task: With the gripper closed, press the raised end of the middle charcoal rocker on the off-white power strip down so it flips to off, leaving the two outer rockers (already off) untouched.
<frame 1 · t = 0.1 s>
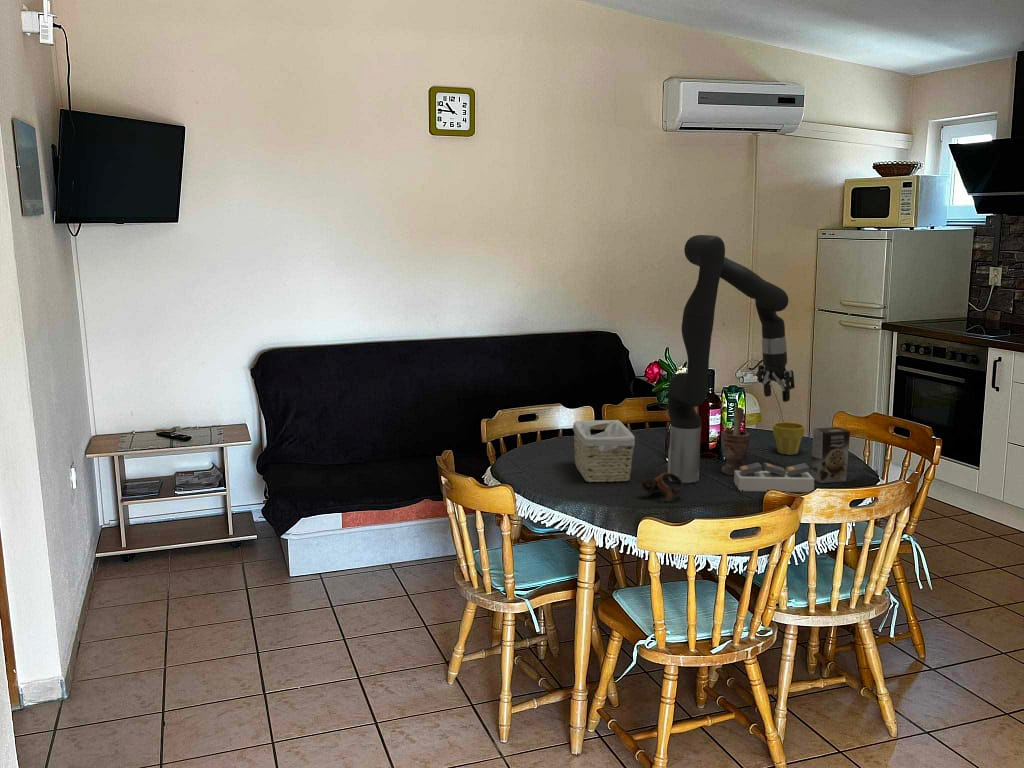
hand: (776, 398, 297), 22 cm above the table, tool pointing down, fingers open, 8 cm apart
rocker 1: (750, 468, 277), point 6 cm above the table, hinge at -15.0°
brown looped piece: (660, 498, 269), on the table
mortar and pestle: (732, 471, 295), on the table
storage basket: (602, 473, 293), on the table
rocker 2: (774, 468, 277), point 6 cm above the table, hinge at 15.0°
brown cookie box: (828, 480, 286), on the table
rocker 3: (797, 469, 276), point 6 cm above the table, hinge at -15.0°
power strip: (773, 487, 278), on the table
plant pot: (787, 453, 316), on the table
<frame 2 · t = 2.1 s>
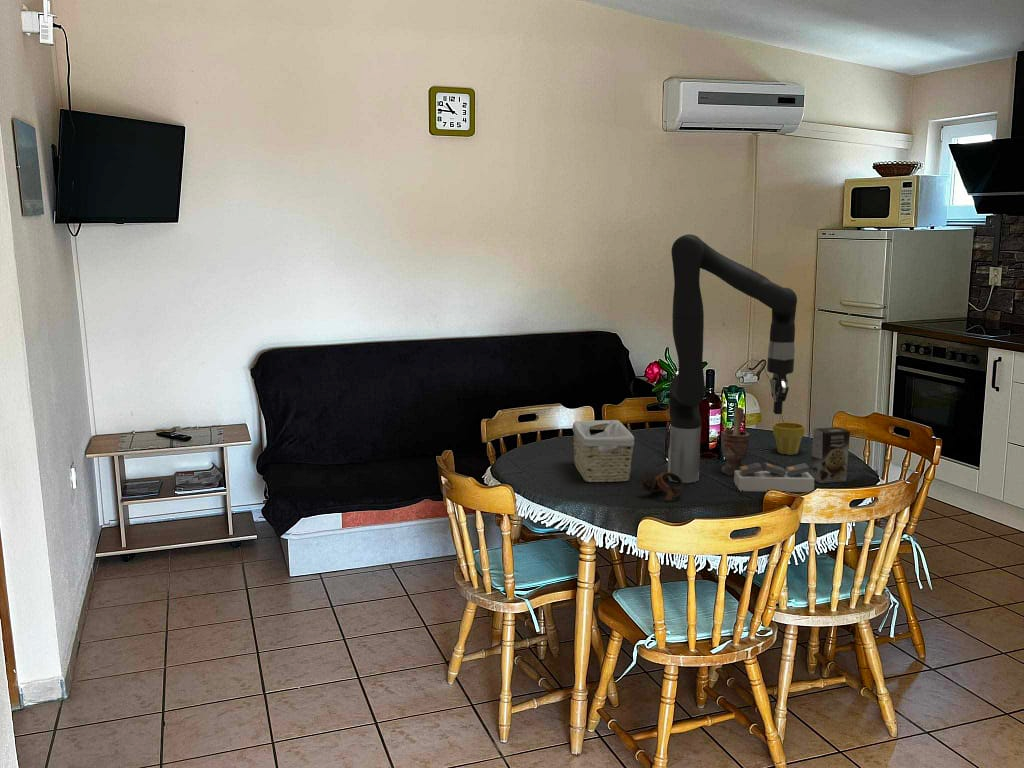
hand: (777, 413, 273), 23 cm above the table, tool pointing down, fingers closed
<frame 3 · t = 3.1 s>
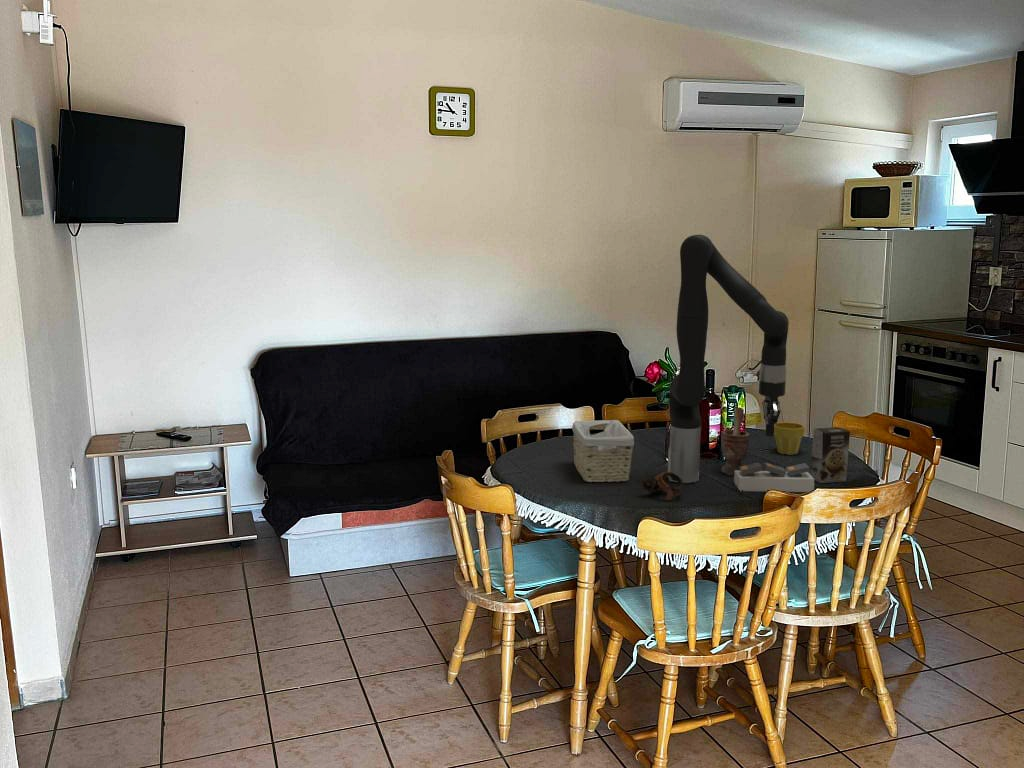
hand: (769, 435, 275), 16 cm above the table, tool pointing down, fingers closed
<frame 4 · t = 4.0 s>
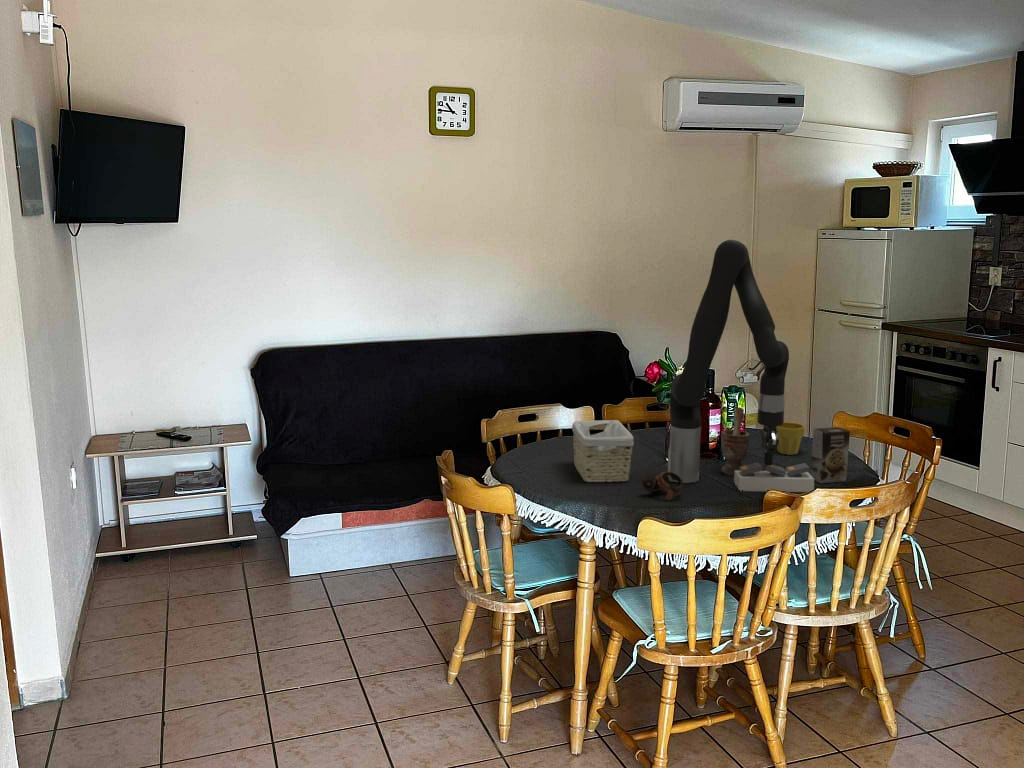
hand: (768, 464, 277), 7 cm above the table, tool pointing down, fingers closed
rocker 2: (774, 468, 277), point 6 cm above the table, hinge at 15.0°, touching gripper
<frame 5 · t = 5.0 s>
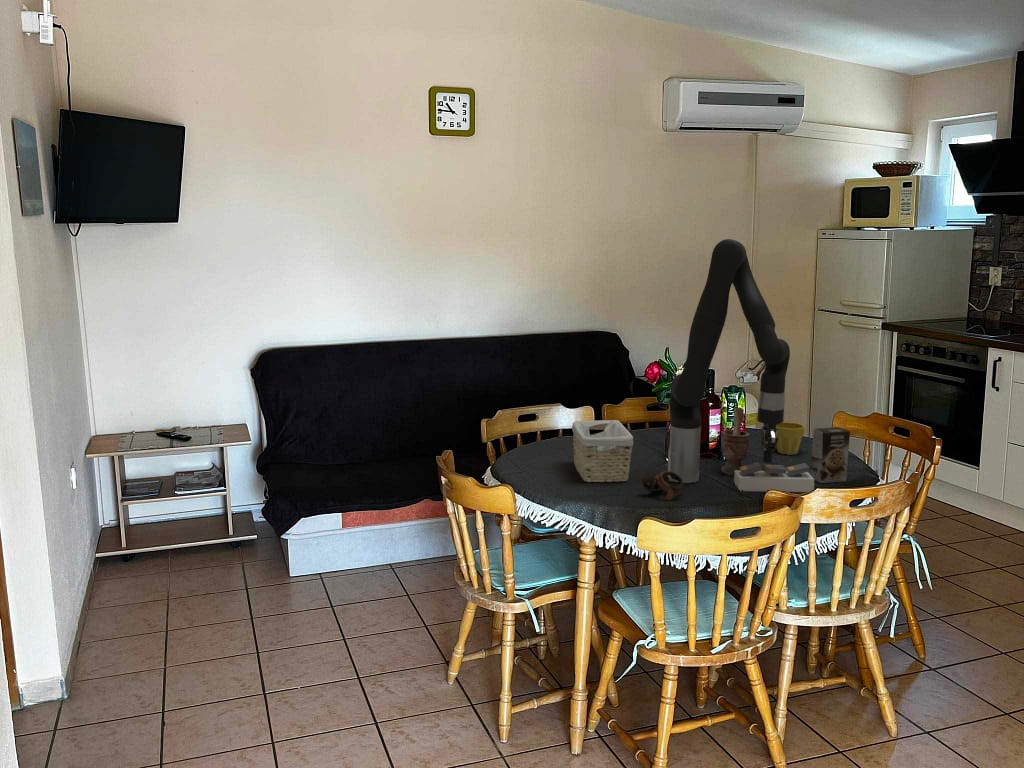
hand: (767, 462, 276), 8 cm above the table, tool pointing down, fingers closed
rocker 1: (750, 468, 277), point 6 cm above the table, hinge at -17.0°
rocker 2: (774, 468, 277), point 6 cm above the table, hinge at 1.3°
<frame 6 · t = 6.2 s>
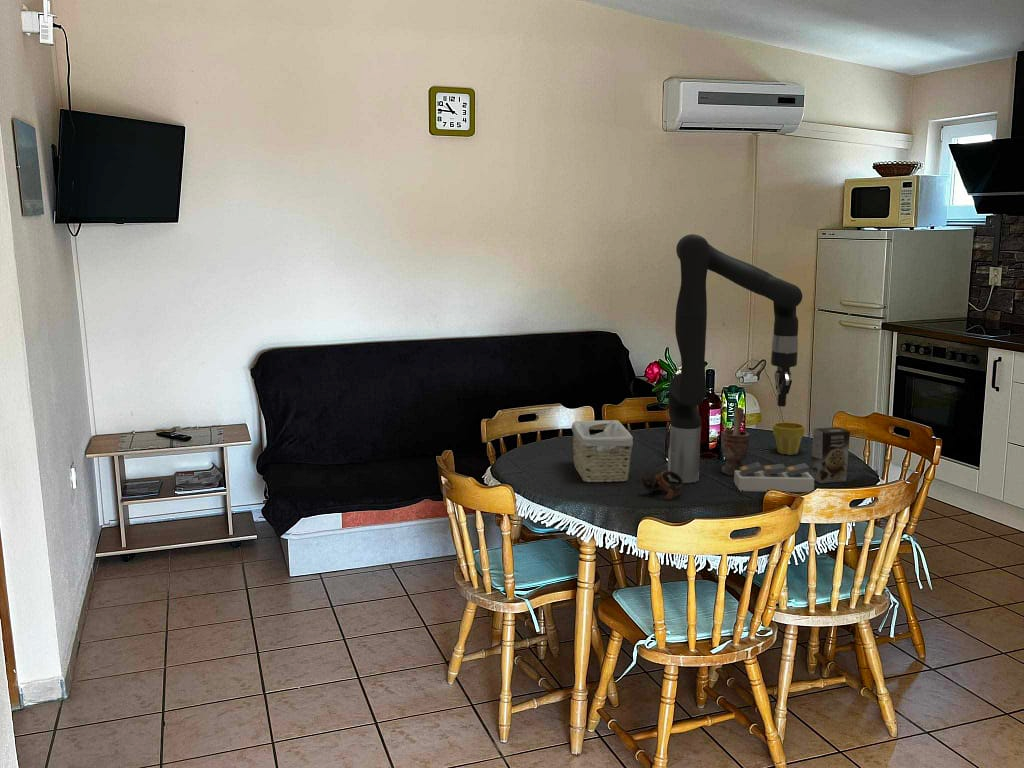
hand: (781, 405, 279), 24 cm above the table, tool pointing down, fingers closed
rocker 1: (750, 468, 277), point 6 cm above the table, hinge at -18.0°
rocker 2: (774, 468, 277), point 6 cm above the table, hinge at -8.4°
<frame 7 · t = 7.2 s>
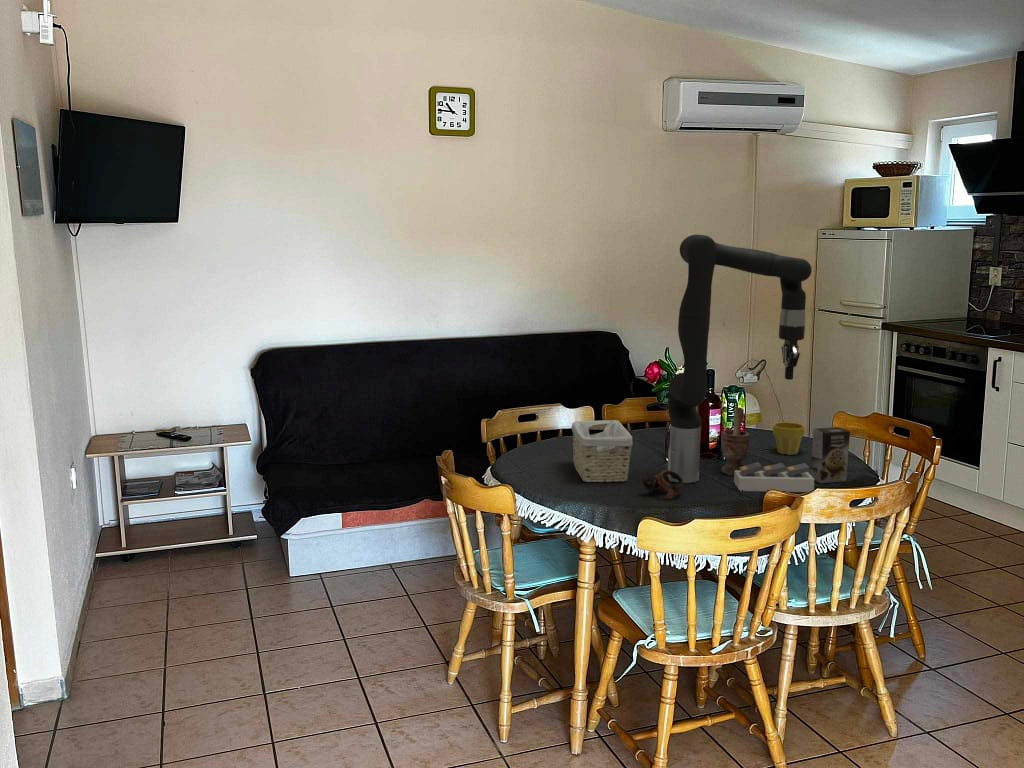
hand: (788, 379, 284), 31 cm above the table, tool pointing down, fingers closed
rocker 1: (750, 468, 277), point 6 cm above the table, hinge at -18.6°
rocker 2: (774, 468, 277), point 6 cm above the table, hinge at -13.6°
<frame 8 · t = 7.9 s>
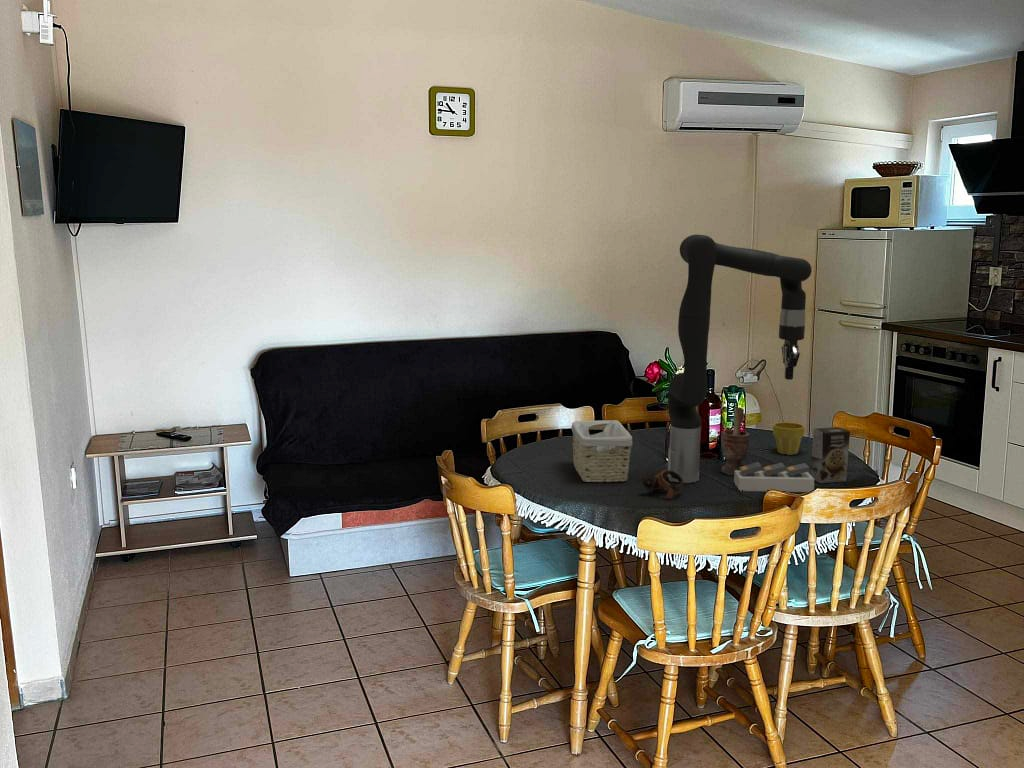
hand: (788, 379, 284), 31 cm above the table, tool pointing down, fingers closed
rocker 2: (774, 468, 277), point 6 cm above the table, hinge at -16.1°
at the end: rocker 2 at -17° (first picture: +15°); rocker 1 at -19° (first picture: -15°); rocker 3 at -15° (first picture: -15°) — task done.
